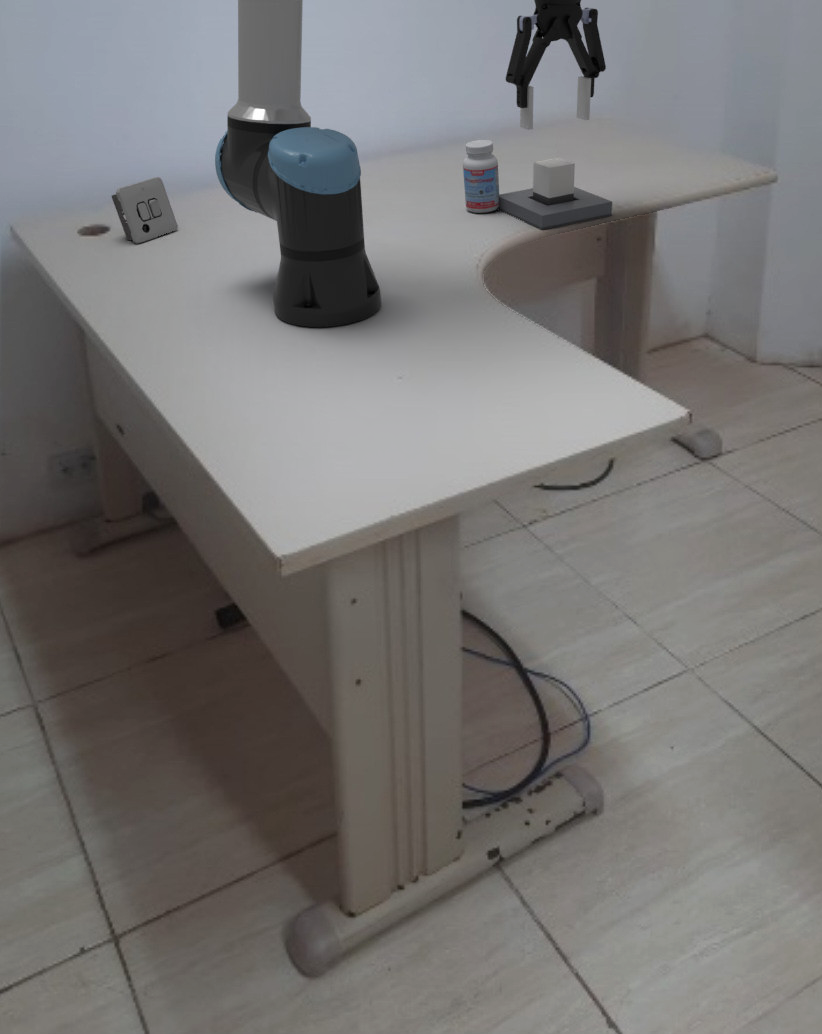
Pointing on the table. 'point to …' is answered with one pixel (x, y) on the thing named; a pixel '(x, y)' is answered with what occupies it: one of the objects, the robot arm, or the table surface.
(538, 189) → the plug
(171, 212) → the electrical switch
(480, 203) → the pill bottle
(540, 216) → the socket plate
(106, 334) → the table surface
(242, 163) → the robot arm
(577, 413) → the table surface
